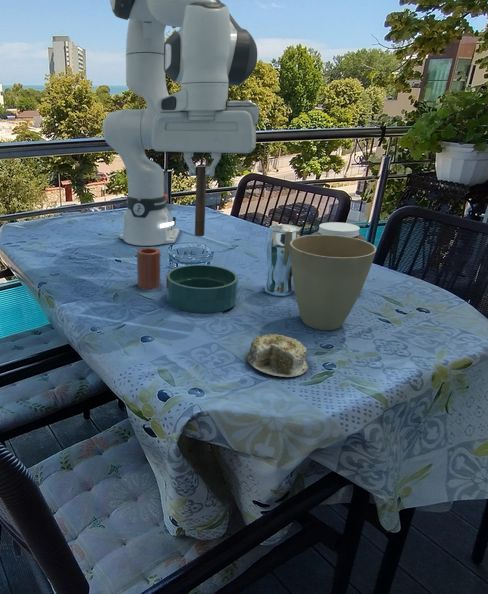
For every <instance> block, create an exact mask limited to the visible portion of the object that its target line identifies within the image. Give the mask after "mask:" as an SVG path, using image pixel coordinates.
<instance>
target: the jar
mask: <svg viewBox="0 0 488 594" xmlns="http://www.w3.org/2000/svg"><path fill="white" fill-rule="evenodd" d="M318 225H319V226H318V230H316V231H315V232H313V233H311V234H310V235H338V236H346V237H352V238H356V239H360V240H363V241H366V237H365V236H363V235H362V234H360V230H361V227H360V226H359V225H357V224H353V223H350V222H349V223H348V222H338V221H337V222H336V221H330V222H323V223H320V224H318ZM366 242H367V241H366Z"/></svg>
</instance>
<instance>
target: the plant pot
mask: <svg viewBox="0 0 488 594" xmlns="http://www.w3.org/2000/svg"><path fill="white" fill-rule="evenodd" d="M376 252H377V247H376V246H375V245H374V244H372V243H371V242H369V241H363V240H360V239H356V238H352V237H346V236H338V235H311V234H308V235H300V237H297V238H295V239H293V240H292V241H291V242H290V255H291V269H292V284H293V289H294V295H295V299H296V304H297V307H298V311H299V315H300V317H301V322H302V323H303V324H304V325H305V326H307V327H309V328H312V329H315V330H318V331H334V330H338V329H340V328H341V327H342V325H343V324H344V322H345V321H346V319H347V318H348V316H349V315H350V313H351V312H352V309H353V308H354V306H355V304H356V302H357V300H358V298H359V296H360V294H361V292H362V290H363V287H364V285H365V283H366V281H367V278H368V275H369V272H370V270H371V267H372V264H373V262H374V259H375V255H376Z"/></svg>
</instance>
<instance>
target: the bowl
mask: <svg viewBox="0 0 488 594" xmlns="http://www.w3.org/2000/svg"><path fill="white" fill-rule="evenodd" d="M238 286H239V276H238V274H237V273H236V272H234V271H233V270H231V269H229V268H226V267H223V266H218V265H211V264H187V265H181V266H178V267H174V268H172V269H171V270H169V271H168V272H167V274H166V301H167V303H168V304H169V305H170V306H171V307H173V308H175V309H177V310H180V311H184V312H188V313H194V314H215V313H220V312H224V311H227V310H230V309H232V308H234V307H235V305H236V304H237V300H238Z"/></svg>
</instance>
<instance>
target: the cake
mask: <svg viewBox="0 0 488 594" xmlns="http://www.w3.org/2000/svg"><path fill="white" fill-rule="evenodd" d="M306 357H307V347H306V346H304V344H302V342H301V341H299V340H297V339H295V338H292V337H290V336H286V335H282V334H275V333H273V334H270V333H269V334H263V335H259V336H256V338H254V339H253V340H252V342H251V343H250V348H249V352H247V354H246V361H247V363H248V364H249V365H250V366H251V367H253V368H254V369H255V370H258V371H259V372H261V373H264V374H267V375H271V376H276V377H277V376H278V377H285V378H292V377H298V376H301V375H303V374H305V373H306V372H307V371H308V369H309V366H308V362H307V361H306Z"/></svg>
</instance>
